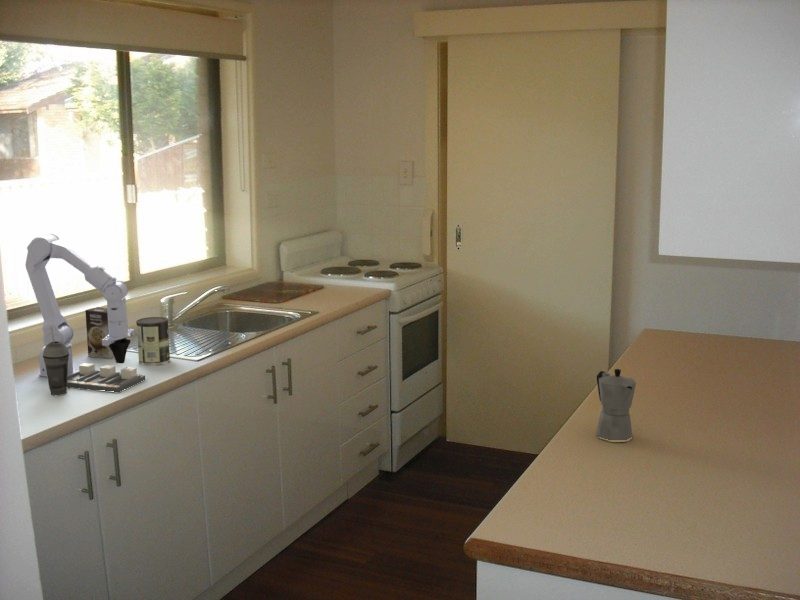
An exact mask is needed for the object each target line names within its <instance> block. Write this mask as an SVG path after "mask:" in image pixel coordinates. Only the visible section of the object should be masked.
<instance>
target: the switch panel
mask: <svg viewBox="0 0 800 600" xmlns="http://www.w3.org/2000/svg"><path fill="white" fill-rule="evenodd" d="M143 380H145V381H146V375H143V374H137V376H134V377H132V378H130V379H121V371H120V372H116V373H115V374H113V375H111V376H108V377H102V376H100V369H99V370H98V369H95V371H94V372H92V373H89V374H87V375H82V374H79V371H77V372H75V373H72V374H70V375H68V380H67V388H69V387H71V389H78V388H80V390H87V389H90V390H89V391H96V390H105V391H114V392H113V393H115V392H120V391H122V390H124V389H126V390H128V389H130V388H132V387H134V386H136V385H138V384H140V383H142V382H141V381H143ZM139 382H140V383H139ZM143 382H144V381H143ZM137 383H138V384H137ZM135 384H136V385H135ZM133 385H134V386H133ZM131 386H132V387H131ZM129 387H130V388H129ZM127 388H128V389H127ZM105 391H104V392H105ZM124 391H125V390H124ZM122 392H123V391H122ZM120 393H121V392H120Z"/></svg>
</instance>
